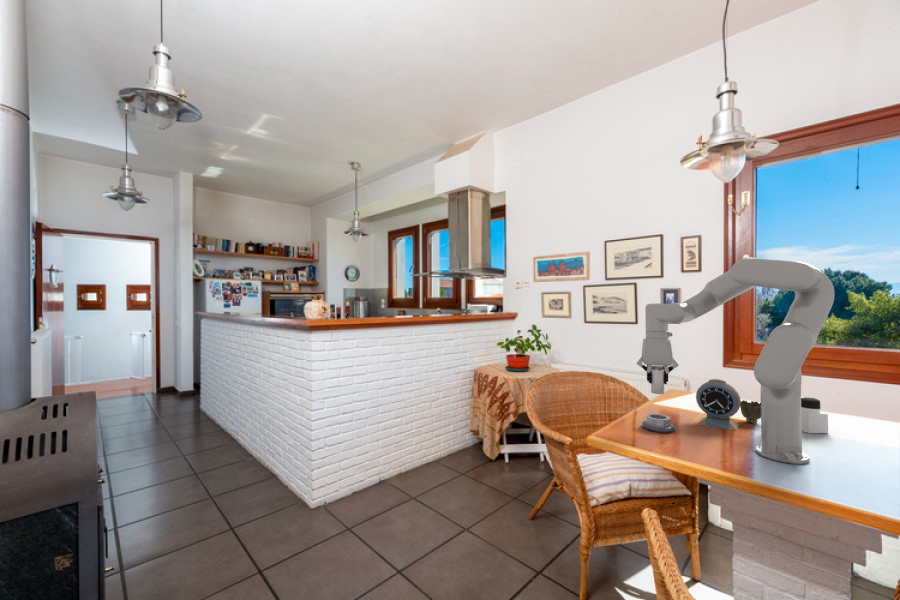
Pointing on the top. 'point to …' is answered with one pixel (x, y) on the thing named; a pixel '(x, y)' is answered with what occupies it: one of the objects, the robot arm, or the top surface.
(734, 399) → the alarm clock
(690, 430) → the top surface
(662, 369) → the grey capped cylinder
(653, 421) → the ring
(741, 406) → the cup
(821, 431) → the medicine bottle
